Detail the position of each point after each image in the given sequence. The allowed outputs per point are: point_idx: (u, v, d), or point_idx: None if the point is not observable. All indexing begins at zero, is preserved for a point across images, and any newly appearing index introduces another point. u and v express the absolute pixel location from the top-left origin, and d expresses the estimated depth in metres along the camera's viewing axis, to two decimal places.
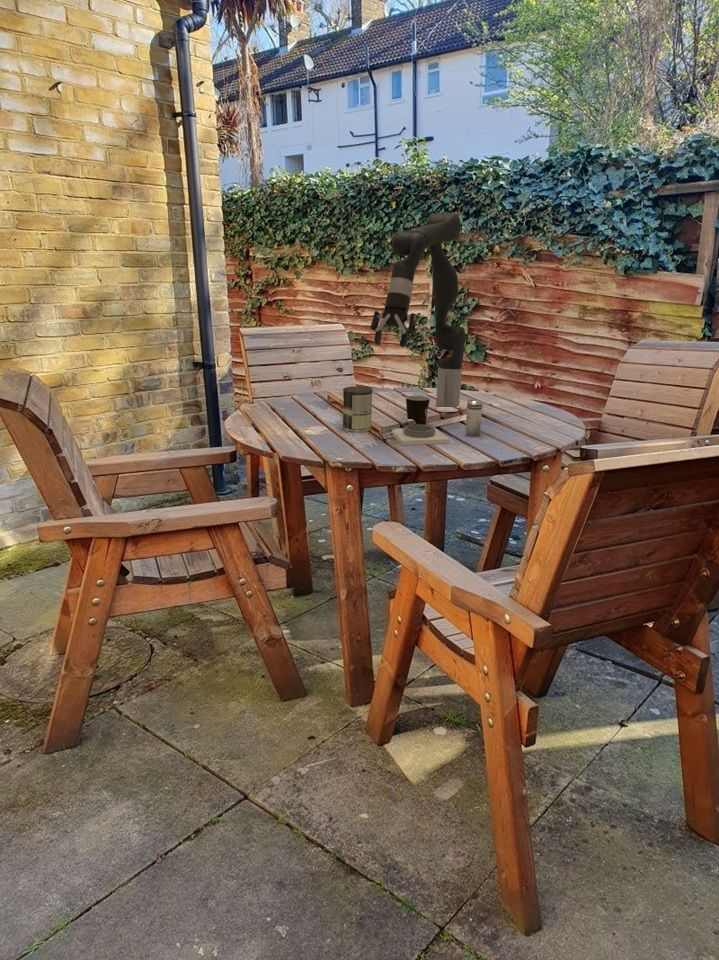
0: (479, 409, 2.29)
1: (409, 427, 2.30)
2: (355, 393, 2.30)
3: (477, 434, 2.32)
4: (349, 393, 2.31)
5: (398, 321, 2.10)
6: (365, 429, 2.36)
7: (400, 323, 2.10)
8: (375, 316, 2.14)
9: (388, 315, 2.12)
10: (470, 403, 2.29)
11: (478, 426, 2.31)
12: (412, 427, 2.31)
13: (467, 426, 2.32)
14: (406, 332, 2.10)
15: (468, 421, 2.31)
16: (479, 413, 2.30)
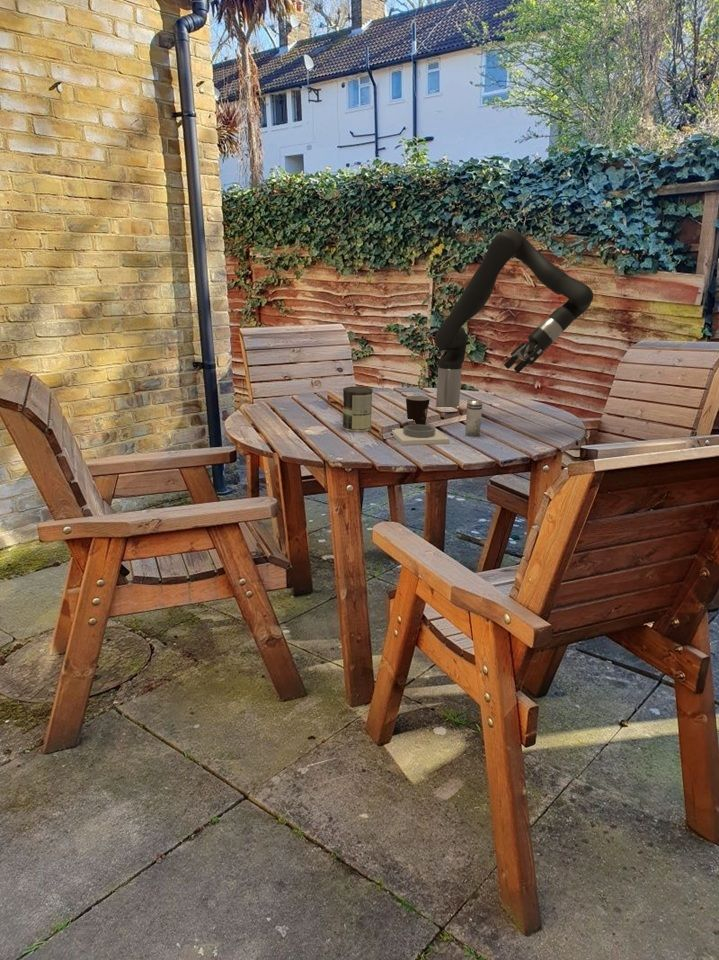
0: (479, 409, 2.29)
1: (409, 427, 2.30)
2: (355, 393, 2.30)
3: (477, 434, 2.32)
4: (349, 393, 2.31)
5: None
6: (365, 429, 2.36)
7: None
8: None
9: None
10: (470, 403, 2.29)
11: (478, 426, 2.31)
12: (412, 427, 2.31)
13: (467, 426, 2.32)
14: None
15: (468, 421, 2.31)
16: (479, 413, 2.30)
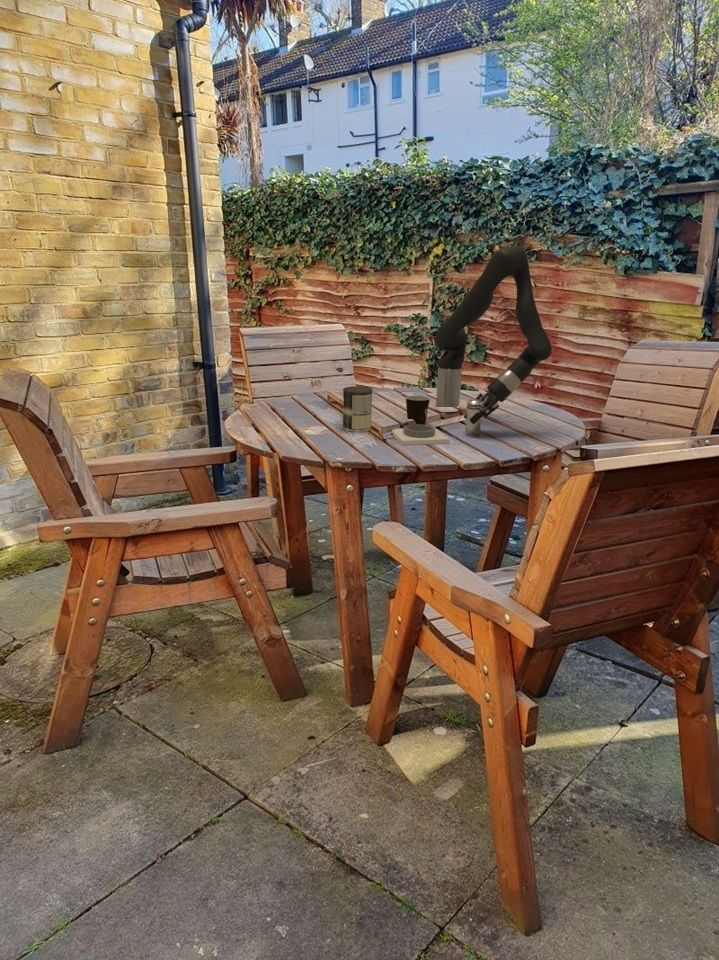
0: None
1: (409, 427, 2.30)
2: (355, 393, 2.30)
3: (477, 434, 2.32)
4: (349, 393, 2.31)
5: None
6: (365, 429, 2.36)
7: None
8: None
9: None
10: (470, 403, 2.29)
11: (478, 426, 2.31)
12: (412, 427, 2.31)
13: (467, 426, 2.32)
14: None
15: (468, 421, 2.31)
16: None
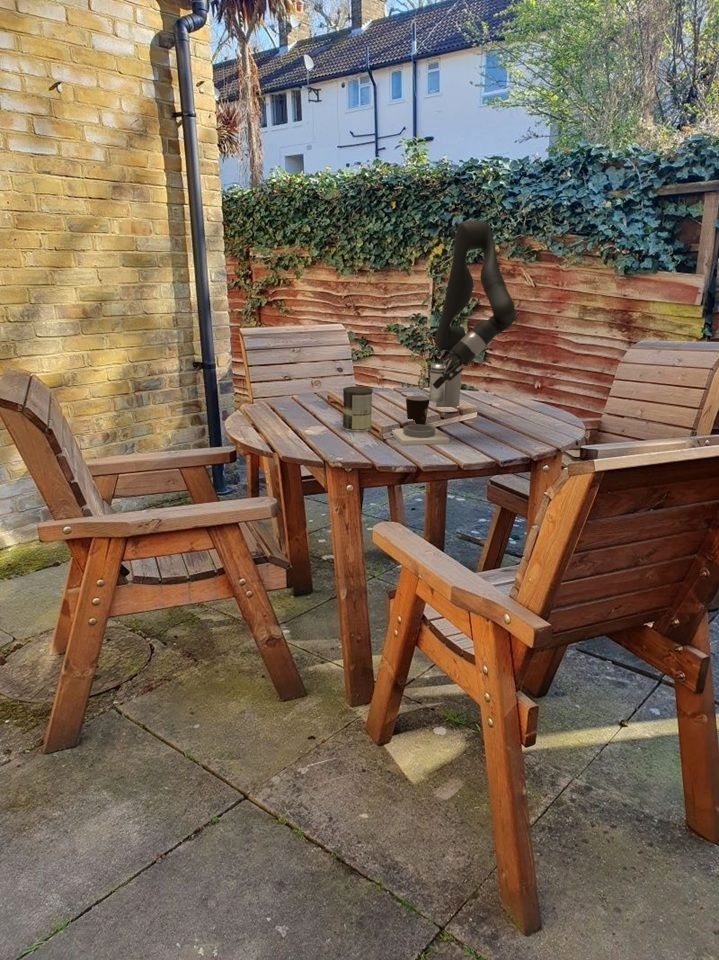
0: None
1: (409, 427, 2.30)
2: (355, 393, 2.30)
3: (441, 399, 2.23)
4: (349, 393, 2.31)
5: None
6: (365, 429, 2.36)
7: None
8: None
9: None
10: (433, 367, 2.20)
11: (442, 391, 2.23)
12: (412, 427, 2.31)
13: (431, 391, 2.23)
14: None
15: (432, 386, 2.23)
16: None
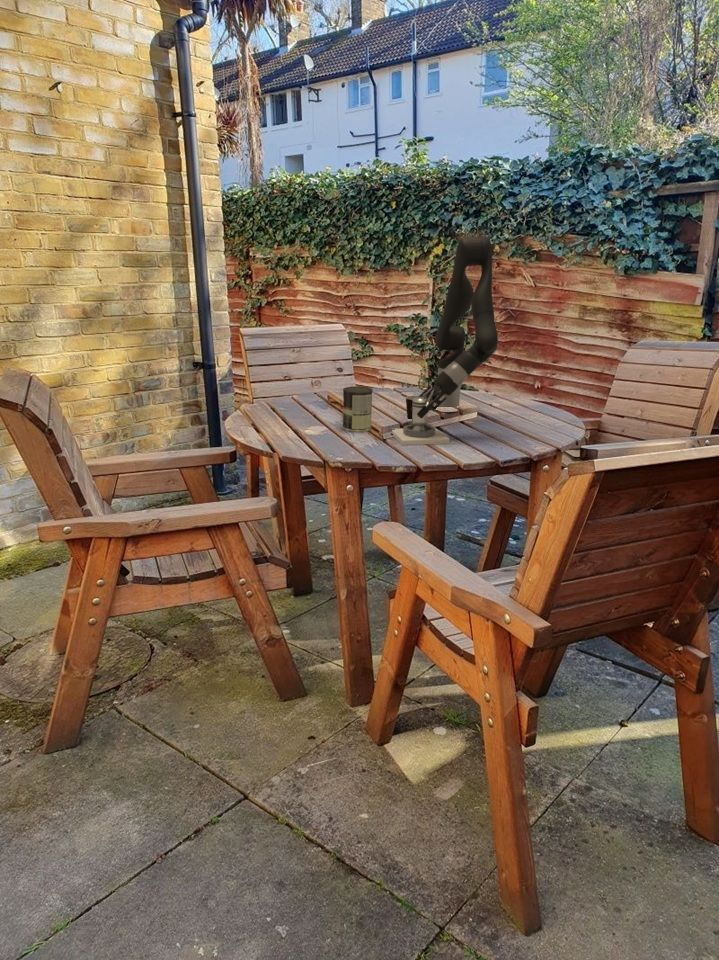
0: None
1: (409, 427, 2.30)
2: (355, 393, 2.30)
3: None
4: (349, 393, 2.31)
5: None
6: (365, 429, 2.36)
7: None
8: None
9: None
10: (415, 401, 2.23)
11: (424, 424, 2.25)
12: None
13: (413, 425, 2.26)
14: None
15: (414, 420, 2.25)
16: None
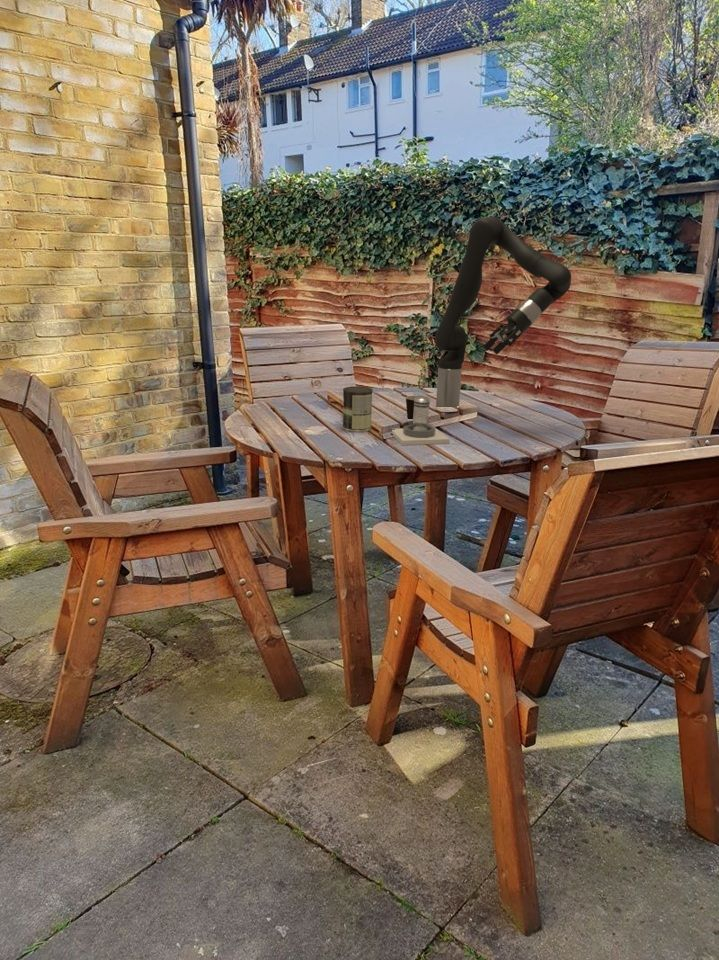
0: (425, 407, 2.23)
1: (409, 427, 2.30)
2: (355, 393, 2.30)
3: None
4: (349, 393, 2.31)
5: None
6: (365, 429, 2.36)
7: None
8: None
9: None
10: (416, 401, 2.23)
11: (425, 425, 2.25)
12: (412, 427, 2.31)
13: (414, 424, 2.26)
14: None
15: (414, 419, 2.25)
16: (426, 411, 2.24)
